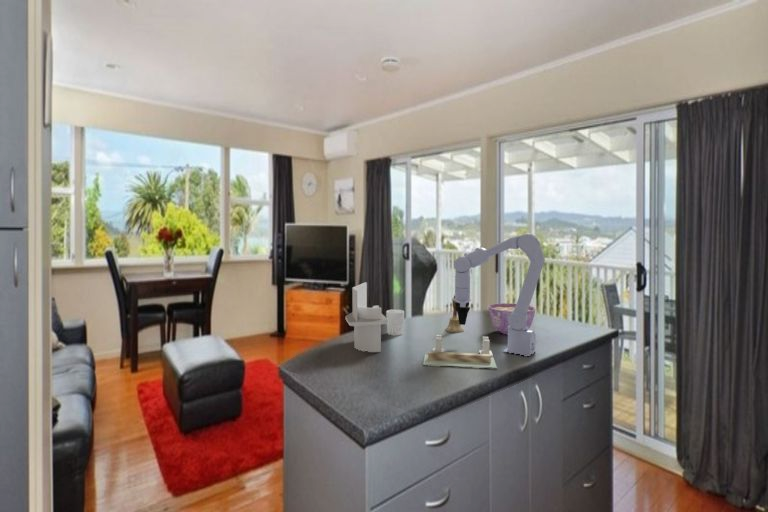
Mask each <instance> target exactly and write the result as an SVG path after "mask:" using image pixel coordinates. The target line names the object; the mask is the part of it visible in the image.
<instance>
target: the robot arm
mask: <svg viewBox="0 0 768 512" xmlns="http://www.w3.org/2000/svg"><path fill="white" fill-rule="evenodd" d="M518 249H520V250H521V251H522V252H523V253H524V254H525V255H526V256H527V258H528V260H529V261H530V263H529V266H528V269H527V272H526V275H525V277H524V281H523V284H522V287H521V289H520V291H519V292H520V293H519V295H518V298H517V302H516V303H515V304H516V307H515V309H514V310H513V311H512V312H511V315H510V316H509V319H508V322H509V326H508V335H507V348H505V349H504V350H503V351H504V352H503V353H506V352H509V353H508V354H511V353H514V354H513V355H516V354H520V355H519V356H521V355H524V356H523V357H527V356H529V357H530V356H532V355H534V354H535V353H536V352H537V351H536V332H535V330H531V329H530V328H529V329H528V327H527V325H526V322H527V320H528V314H527V311H528V308H529V306H531V305H530V304H531V302H532V299H533V295H534V294H535V291H536V289H537V287H536V286H537V285H538V282H539V279H540V276H541V273H542V270H543V267H544V264H545V261H546V259H545V255H544V252H543V249H542V246H541V242H540V241H539V239H538V238H537V237H536V235H534V234H532V233H524V234H522V235H517V236H514V237H509V238H508V239H506V240H504V241H501V242H500V243H499V242H498V243H497V244H495V245H493V246H491V247H488V248H484V247H477V248H475V249H474V251H471V252H469V253H463V255H464V256H459V257H458V258H456V259H455V260H454V263H453V267H454V270H455V274H454V275H455V276H454V295H455V298H454V297H453V298H451V301H456V302H455V305H456V306H455V308H456V311H457V318H458V319H459V324H460V325H461V326H462V325H463V326H465V325H466V322H467V317H468V314H469V311H470V310H471V307H470V306H469V305H470V302H471V297H470V296H471V291H470V290H471V268H472V269H473V268H476V267H478V266H481V265H483V264H485V263H488V262H489V261H490V258H491V257H492V256H495V255H497V254H500V253H502V252H504V251H508V250H518ZM534 352H535V353H534ZM531 354H532V355H531Z"/></svg>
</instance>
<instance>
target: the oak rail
mask: <svg viewBox="0 0 768 512" xmlns="http://www.w3.org/2000/svg"><path fill="white" fill-rule="evenodd" d="M427 352H428V360H436V361H455V362H475V363H491V355H490V354H479V353H476V352H475V353H474V352H473V353H472V352H452V351H451V352H450V351H448V352H447V351H445V352H434V351H433V350H432V351H430V350H428V351H427Z"/></svg>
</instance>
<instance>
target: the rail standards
mask: <svg viewBox="0 0 768 512" xmlns="http://www.w3.org/2000/svg"><path fill="white" fill-rule="evenodd" d="M442 337H443V336H442V334H436V337H435V347H433V348H432V351H434V352H446V349H445V348H443V347H442V346H443V343H442V341H443V339H442ZM490 344H491V343H490V339H489V336H482V346H481V347H482V349H481V350H480V349H479V350H478V354H479V353H480V354H490V355H491V357H493V358H494V354H493V352H492V350H490V347H491V346H490Z"/></svg>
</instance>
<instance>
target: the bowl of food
mask: <svg viewBox="0 0 768 512" xmlns="http://www.w3.org/2000/svg"><path fill="white" fill-rule="evenodd" d="M516 304H517V303H509V302H508V303H505V302H504V303H501V302H500V303H492V304H490V305H488V307H487V308H488V312H489V316H490V321H491V324H492V326H493V327H494V329H495V330H497V331H498V332H500V333H501V334H502V333H503V335H505V334H506V336H508V326H509V322H508V319H509V316H510V315H511V312H512V311H513V310H514V309H515V307H516ZM536 310H537V309H536V307H535V306H531V305H529V308H528V311H527V314H528V320H527V322H526V325H527V327H528V329H529V330H530V328H531V327H532V324H533V321H534V317H535V314H536Z"/></svg>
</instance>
